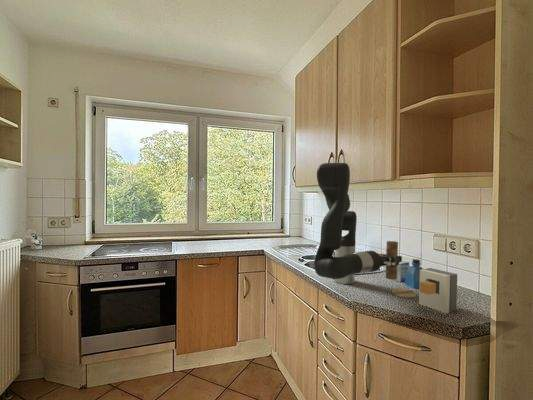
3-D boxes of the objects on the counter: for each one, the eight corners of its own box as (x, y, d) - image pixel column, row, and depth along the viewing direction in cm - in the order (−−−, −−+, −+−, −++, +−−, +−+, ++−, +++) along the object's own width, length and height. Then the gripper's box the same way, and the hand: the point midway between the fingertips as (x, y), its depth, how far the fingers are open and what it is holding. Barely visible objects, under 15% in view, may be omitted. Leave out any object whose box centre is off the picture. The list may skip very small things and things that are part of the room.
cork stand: (387, 292, 126) (387, 290, 126) (401, 289, 130) (401, 287, 130) (406, 299, 118) (406, 296, 118) (420, 296, 122) (421, 293, 122)
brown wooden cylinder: (383, 277, 116) (384, 241, 116) (390, 276, 118) (391, 240, 118) (392, 280, 113) (393, 243, 113) (399, 278, 115) (400, 242, 115)
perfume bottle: (417, 284, 139) (417, 258, 139) (426, 288, 133) (427, 261, 133) (405, 284, 138) (405, 258, 138) (413, 288, 132) (414, 261, 132)
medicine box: (400, 282, 142) (400, 264, 142) (391, 280, 145) (392, 262, 145) (409, 279, 146) (409, 262, 146) (400, 277, 150) (401, 260, 150)
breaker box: (419, 304, 113) (419, 269, 113) (429, 301, 116) (430, 267, 116) (445, 313, 104) (446, 276, 104) (456, 310, 107) (457, 274, 107)
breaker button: (419, 291, 108) (419, 282, 108) (426, 290, 110) (426, 281, 109) (428, 294, 105) (429, 284, 105) (435, 293, 107) (435, 283, 106)
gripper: (380, 255, 102) (412, 251, 110) (350, 248, 114) (381, 245, 123) (380, 277, 102) (412, 271, 111) (349, 267, 115) (380, 263, 123)
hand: (395, 257), depth 117 cm, fingers closed on brown wooden cylinder, 4 cm apart
